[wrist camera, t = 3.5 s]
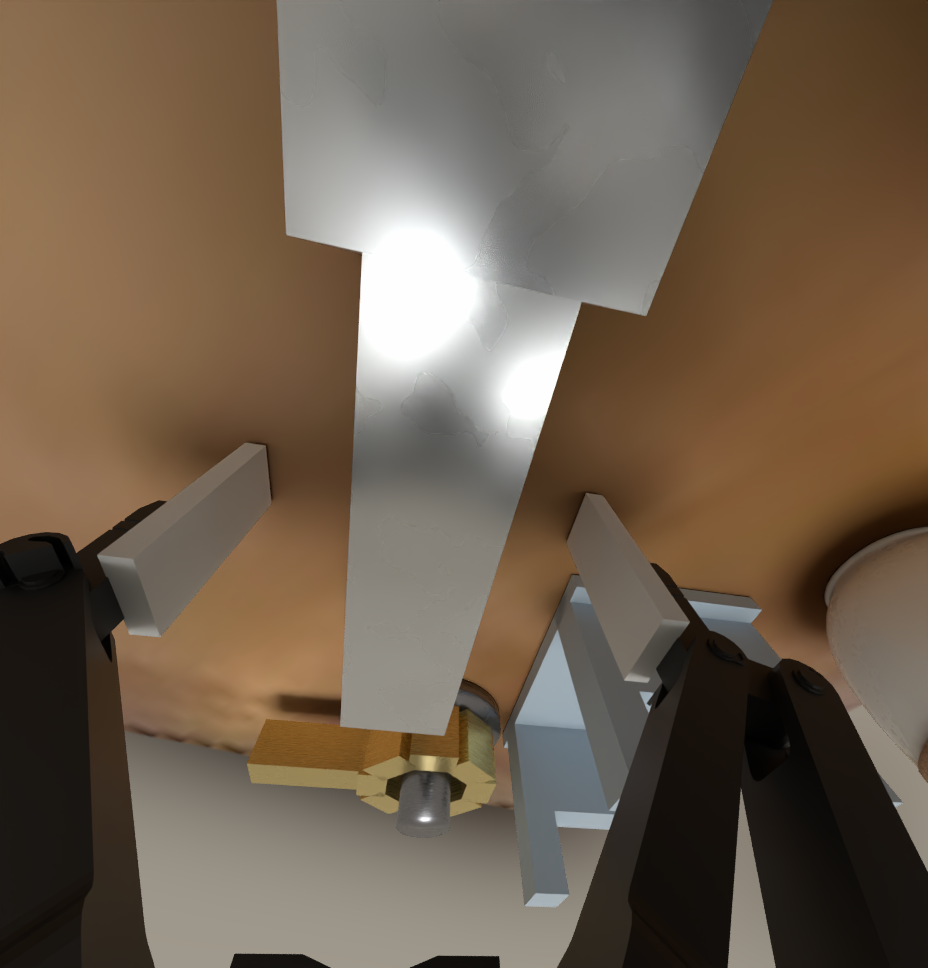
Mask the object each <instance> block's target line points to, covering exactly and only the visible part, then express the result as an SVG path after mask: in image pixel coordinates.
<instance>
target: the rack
mask: <svg viewBox="0 0 928 968" xmlns="http://www.w3.org/2000/svg"><path fill="white" fill-rule="evenodd" d="M679 589H680V591H681V592H682V593H683V595H684V598H686V599H687V600H688V602H689V603H690V604H691V606H692V607H693V608H694V610H695V611H696V613H697V614H698V615H699V617H700V618H701V619H702V621H703V622H704V623H705V625H706V626H707V628H708V629H709V630H710V631H715V632H717V633H719V634H721V635H724V636H725V637H727V638H728V639H730V640H731V641H733V642H734V643H735V644H736V645H737V646H738V647H739V648H740V649H741V650H742V651H743V652H744V653H745V655H746V656H747V658H748V659H750V660H752V661H755V662H758V663H761V664H763V665H766V666H769V667H772V668H774V667H775V666H776V665H777V664H778V663H779V662H780V661H781V658H780V657H779V656H778V655H777V654H776V653H775V651H774V650H773V649H772V648H771V647H770V645H769V644H768V643H767V642H766V641H765V640H764V638H763V637H762V636H761V635H760V634H759V633H758V631H757V630H756V629H755V628H754V627H753V626H752V624H751V623H752V621H753V620H754V619H755V618H756V617H757V615H758V614H759V613H760V612H761V611H762V609H761V608H760V607H759V606H758V605H757V604H756V603H755V602H754V601H753V599H752V598H751V597H743V596H735V595H727V594H720V593H712V592H704V591H696V590H688V589H681V588H679ZM661 683H662V680H661V678H660V676H659V674H658V672H657V670H656V671H655V673H654V674H653V676H652V677H651V678H650V680H649V681H648V683H645V682H635V681H624V679H623V677H622V674H621V672H620V670H619V667H618V665H617V663H616V660H615V658H614V655H613V653H612V651H611V648H610V646H609V644H608V641H607V639H606V636H605V634H604V632H603V629H602V627H601V625H600V622H599V620H598V617H597V615H596V613H595V610H594V608H593V606H592V603H591V601H590V598H589V596H588V594H587V591H586V589H585V587H584V584H583V582H582V579H581V577H580V576H579V575H572V576H571V578H570V581H569V583H568V585H567V588H566V590H565V592H564V594H563V597H562V599H561V601H560V604H559V606H558V608H557V611H556V613H555V615H554V617H553V620H552V622H551V624H550V627H549V629H548V631H547V634H546V636H545V638H544V640H543V643H542V645H541V647H540V650H539V652H538V654H537V656H536V659H535V661H534V663H533V666H532V668H531V670H530V673H529V675H528V677H527V679H526V682H525V684H524V686H523V689H522V691H521V693H520V696H519V698H518V700H517V702H516V705H515V707H514V709H513V712H512V714H511V716H510V718H509V721H508V723H507V725H506V728H505V730H504V732H503V745H504V748H508V752H509V762H510V772H511V781H512V791H513V800H514V810H515V820H516V829H517V838H518V848H519V858H520V867H521V877H522V885H523V886H522V887H523V896H524V905H525V906H538V907H557V906H558V905H559V904H560V903H561V902H562V901H563V900H564V899H565V898H566V897H567V896H568V895H569V890H568V884H567V879H566V873H565V868H564V862H563V856H562V851H561V845H560V841H559V834H558V829H557V827H573V828H591V829H607V830H609V829H610V826H611V823H612V820H613V817H614V814H615V811H616V808H617V805H618V802H619V800H620V797H621V794H622V791H623V788H624V785H625V782H626V779H627V776H628V773H629V770H630V767H631V764H632V761H633V758H634V755H635V752H636V749H637V747H638V744H639V741H640V738H641V735H642V732H643V729H644V726H645V723H646V720H647V717H648V714H649V711H650V708H651V706H649V705H648V704H646V703H647V702H648V701H649V699H650V698H651V697H652V695H653V694H654V692H655V691H656V690H657V688H658V687H659V686H660V684H661ZM879 776H880V775H879ZM880 778H881V780H882V782H883V784H884V786H885V788H886V790H887V792H888V794H889V796H890V798H891V800H892V802H893V804H894V806H895V807H897V806H898V805H900V804H902V803H903V802H902V801H901V799H900V798H899V797H898V796H897V795H896V794H895V792H894V791H893V790H892V789H891V788H890V787H889V785H888V784H887V783H886V782H885V781H884V780H883V778H882V777H881V776H880Z"/></svg>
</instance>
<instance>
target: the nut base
mask: <svg viewBox="0 0 928 968" xmlns="http://www.w3.org/2000/svg"><path fill="white" fill-rule="evenodd" d="M454 706H459V712H462V711H464V710H467V709H468V710H469V711H471V712H472V713H473V714H474V715H476V716H477V717H478V718H479V719H481V720H482V721H483V722H484V723H486V724H487V725H488V726H489V727H491V733H493V743H494V745H495V744H496V743H497V741H498V739H499V736H500V730H501V728H500V718H499V710H498V706H497V704H496V702H495V700H494V699H493V697H492V696H491V695H490V694H489V693H488V692H486V691H485V690H484V689H482V688H481V687H479V686H477V685H475V684H473V683H471V682H468V681H465V680H462V681H461V684H460V687H459V691H458V694H457V697H456V700H455V703H454ZM450 791H451V774H449V773H448V772H435V771H421V770H412V771H409V772H407V773H404V774H402V780H401V789H400V798H399V806H398V815H397V824H396V828H397V830H398V831H399V832H400V833H402V834H404V835H407V836H411V837H419V838H428V837H436V836H440V835H443V834H445V833H446V832H447V831H449V829H450Z"/></svg>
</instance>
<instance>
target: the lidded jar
mask: <svg viewBox="0 0 928 968" xmlns="http://www.w3.org/2000/svg"><path fill="white" fill-rule="evenodd" d="M824 600H825V604H826V606H827V607H828V610H827V615H826V634H827V638H828V642H829V647H830V650H831V653H832V656H833V658H834V660H835V663H836V665H837V667H838V669H839V671H840V673H841V674H842V676H843V678H844V679H845V681H846V682H847V684H848V685H849V687H850V688H851V690H852V691H853V693H854V694H855V696H856V697H857V698H858V700H859V701H860V702H861V704H862V705H863V706H864V707H865V709H866V710H867V711H868V713H869V714H870V715H871V716H872V718H873V719H874V720H875V722H877V724H878V725H879V726H880V727H881V728H882V730H883V731H884V732H885V733H886V734H887V735H888V736H889V737H890V738H891V740H892V741H893V742H894V743H895V744H896V745H897V746H898V748H899V749H900V750H901V751H902V752H903V753H904V754H905V755H906V756H907V757H908V758H909V759H910V760H911V761H912V762H913V763H914V764H915V765H916V766H917V767H918V769H919V772H920V773H921V775H922V776H923V778H924V779H925V780H926V782H927V783H928V527H920V528H913V529H909V530H904V531H901V532H898V533H895V534H892V535H889V536H887V537H884V538H882V539H880V540H878V541H876V542H874V543H872V544H870V545H868V546H866V547H865V548H863V549H861V550H860V551H858V552H857V553H855V554H854V555H853V556H851V557H850V558H849V559H848V560H846V561H845V562H844V563H843V564H842V565H841V566H840V567H839V568H838V569H837V570H836V571H835V573H834V574H833V575H832V577H831V578H830V580H829V582H828V584H827V586H826V589H825V593H824Z"/></svg>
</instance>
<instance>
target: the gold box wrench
mask: <svg viewBox="0 0 928 968" xmlns="http://www.w3.org/2000/svg"><path fill="white" fill-rule="evenodd" d="M247 766H248V770H249V774H250V778H251V782H252V783H263V784H278V785H294V786H310V787H325V788H340V789H356V790H357V793H356V795H361V797H360V800H362V801H364V802H366V803H368V804H370V805H372V806H374V807H376V808H378V809H380V810H382V811H384V812H386V813H388V814H390V813H393V812H396V811H398V806H399V798H400V789H401V780H402V774H404V773H407V772H409V771H412V770H421V771H435V772H448V773H449V774H451V791H450V817H451V816H454V815H457V814H461V813H464V812H467V811H470V810H474V809H477V808H480V807H481V803H488V801H489V799H490V797H491V794H492V792H493V790H494V788H495V786H496V771H495V757H494V743H493V733H491V727H489V726H488V725H487V724H486V723H484V722H483V721H482V720H481V719H479V718H478V717H477V716H476V715H474V714H473V713H472V712H471V711H469V710H468V709H467V710H464V711H462V712H459V706H453V710H452V713H451V716H450V719H449V722H448V725H447V728H446V732H445V735H444V736H440V735H429V734H417V733H406V732H395V731H384V730H372V729H361V728H350V727H340V725H331V724H319V723H307V722H294V721H282V720H270V719H266V721H265V724H264V726H263V728H262V730H261V733H260V735H259V737H258V740H257V742H256V744H255V746H254V749H253V751H252V753H251V755H250V758H249V760H248V762H247Z"/></svg>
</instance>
